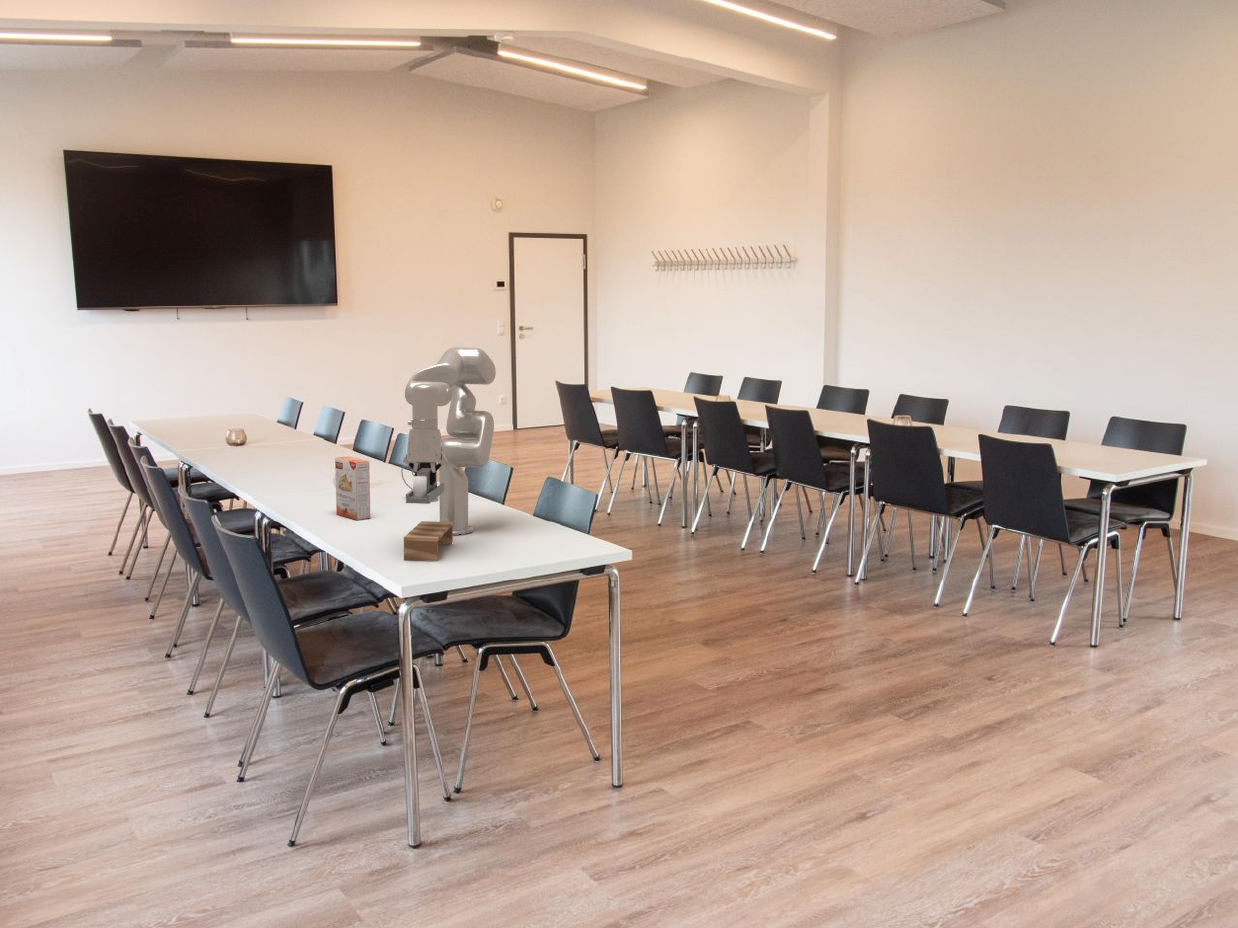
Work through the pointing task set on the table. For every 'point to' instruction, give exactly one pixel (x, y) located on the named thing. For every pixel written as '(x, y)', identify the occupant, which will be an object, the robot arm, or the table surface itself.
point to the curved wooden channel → (427, 540)
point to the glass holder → (422, 465)
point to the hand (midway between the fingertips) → (425, 483)
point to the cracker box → (352, 488)
